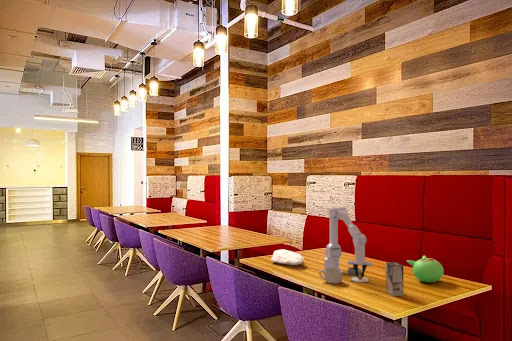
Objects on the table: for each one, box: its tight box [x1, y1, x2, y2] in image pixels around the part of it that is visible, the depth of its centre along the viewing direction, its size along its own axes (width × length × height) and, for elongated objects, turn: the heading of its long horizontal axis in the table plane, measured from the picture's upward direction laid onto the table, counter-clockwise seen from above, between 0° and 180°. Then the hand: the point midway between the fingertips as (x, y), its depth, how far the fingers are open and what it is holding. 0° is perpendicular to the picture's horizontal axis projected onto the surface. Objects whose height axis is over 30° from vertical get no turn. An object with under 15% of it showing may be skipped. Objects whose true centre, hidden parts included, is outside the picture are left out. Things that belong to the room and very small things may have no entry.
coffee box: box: [385, 261, 405, 297], centre depth 203 cm, size 9×6×16 cm
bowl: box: [347, 266, 362, 277], centre depth 242 cm, size 8×8×4 cm
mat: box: [350, 279, 370, 284], centre depth 227 cm, size 10×11×1 cm
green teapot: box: [406, 255, 445, 283], centre depth 225 cm, size 18×17×15 cm
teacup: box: [318, 267, 343, 285], centre depth 223 cm, size 14×11×8 cm
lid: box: [351, 271, 370, 284], centre depth 227 cm, size 10×10×5 cm
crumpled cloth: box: [270, 248, 305, 266], centre depth 273 cm, size 24×35×9 cm
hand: (360, 277), depth 227 cm, fingers closed on lid, 3 cm apart
